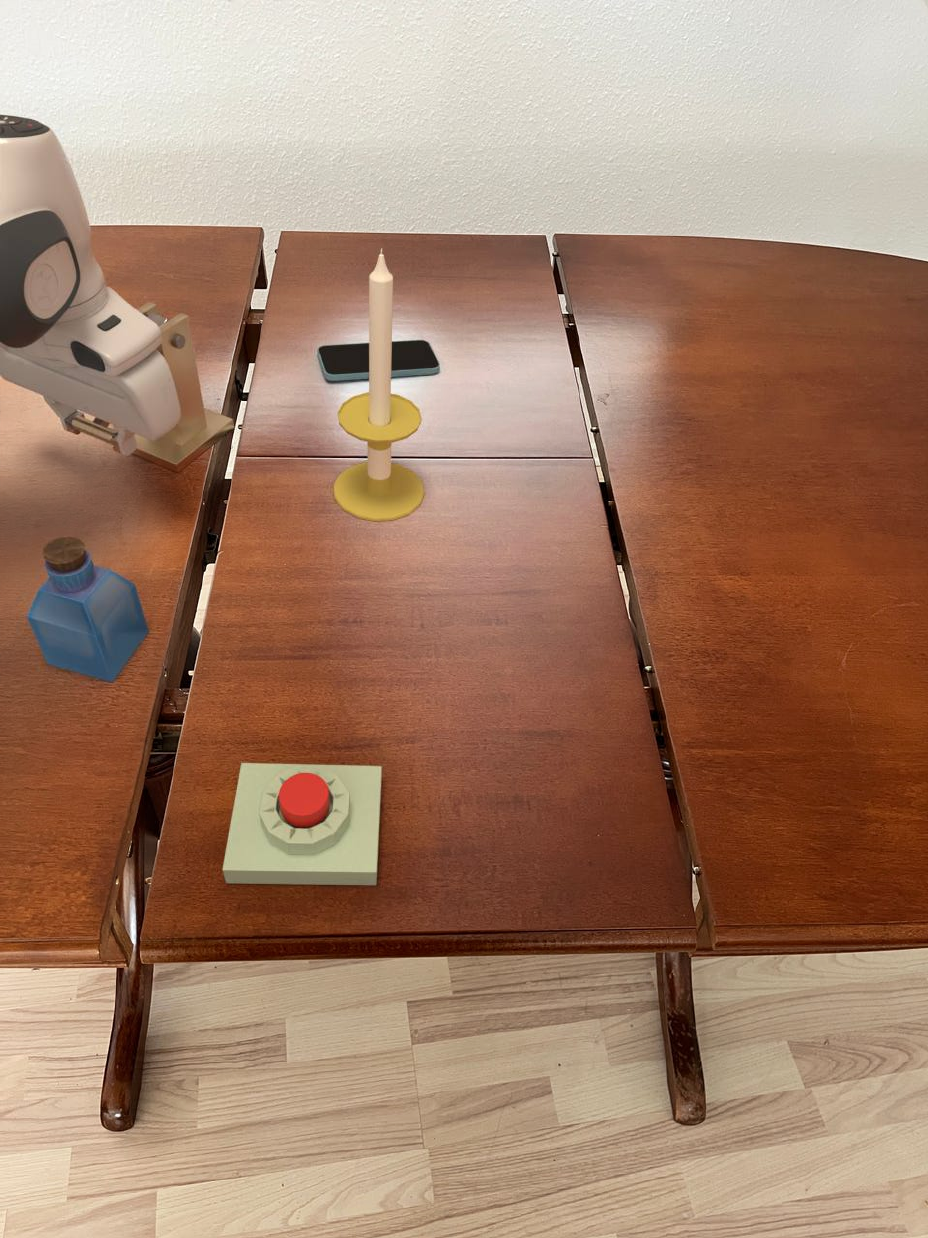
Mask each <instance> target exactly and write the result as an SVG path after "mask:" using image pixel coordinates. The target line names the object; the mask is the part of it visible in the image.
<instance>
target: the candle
mask: <svg viewBox="0 0 928 1238" xmlns="http://www.w3.org/2000/svg"><path fill="white" fill-rule="evenodd" d="M385 259H386V258H385V255H384V254H383V248H382V247H381V248H380V254H378V258H377V262H376V265H375V268H374V270H373V271H372V272H371V273H370V274H369V275H368V276H369V277H368V343H369V378H368V391H367V392H363V393H360V394H357V395H353V396H351V397H350V398H348V399H347V400H345V401H344V402H342V404H341V405H340V407H339V408H338V411H337V418H338V425H339V426H340V427H341V428H342V429H343V430H344V432H345V433H346V434H347V435H349V436H350V437H353V438H355V439H357V440H359V441H363V442H367V444H366V445H367V449H366V450H367V461H364V462H361V463H358V464H354V465H352V466H349V467H348V468H346V469H345V470H343V471H342V472H341V473H339V474H338V476H337V478H336V479H335V482H334V484H333V487H332V488H333V496H334V500H335V502H336V503H337V504H338V506H339V507H340V508H341V509H342V511H344V512H346V513H348V514H350V515H351V516H354V517H355V518H357V519H361V520H365V521H366V520H367V521H372V522H387V521H388V522H389V521H395V520H399V519H402V518H404V517H407V516H409V515H411V514H412V513H413V512H414V511H416V510H417V509H418V508H419V507H420V506H421V505H422V502H423V500H424V498H425V495H426V494H425V488H424V485H423V481H422V480H421V479H420V478H419V476H418V475H417V474H416V473H415V472H414V471H413V470H411V469H409V468H408V467H406V466H403V465H401V464H399V463H395V462H392V444H393V443H397V442H400V441H402V440H406V439H408V438H409V437H411V436H412V435H414V434H415V433H417V431H419V428H420V425H421V423H422V420H423V419H422V415H421V411H420V408H419V407H418V406H417V405H416V404H415V403H414V402H413V401H412V400H411V399H409V398H405V397H404V396H402V395H399V394H396V393H392V377H391V356H392V341H393V305H394V303H393V301H394V299H393V298H394V297H393V296H394V275H393V274H392V273H391V272H390V271H389V269H388V267H387V263H386V260H385Z"/></svg>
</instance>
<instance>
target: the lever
mask: <svg viewBox="0 0 928 1238" xmlns="http://www.w3.org/2000/svg"><path fill="white" fill-rule="evenodd" d="M148 318H149V319H151V320H152V321H153V322H155V323H156V324H157V325H158V327H159V326H161V325H162V324H164V323H165V322H167V321H168V320H169V319H168V318H166V317H164V316H161V315H160V314H159V315H156V314H153V313H150V314H149V316H148ZM110 425H111V423H108V422H106V421H103V420H101V419H99V418H96V417H94V419H93V420H91V419H88V418H86V417H85V418H84V417H81V416H76V417H74V418H73V420H72V427H73V428H74V429H75V430H78V431H80V432H81V433H82V434H84V435H86V436H89V437H92V438H95V439H96V440H99V441H101V442H104V443H106V444H109V445H111V446H113V445H112V443H111V440H110V439H111V438H112V437H113V436H115V435H117V434H118V432H119V430H118V431H117V430H115V429H114V428H113V429H112V428H110V427H109V426H110Z"/></svg>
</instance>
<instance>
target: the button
mask: <svg viewBox="0 0 928 1238" xmlns="http://www.w3.org/2000/svg"><path fill="white" fill-rule="evenodd" d="M279 803H280V809H281V813H282V816H283V817H284V819H285V820H286V821H287V822H288V823H290V824H292V825H294V826H297V827H309V826H313V825H315V824H317V823H319V822H320V821H321V820H322V819H323V818H324V817H325V816H326V815H327V813H328V810H329V806H330V801H329V789H328V786H327V784H326V782H325V781H324V780H323V779H322V778H321V777H319V776H318V775H315V774H312V773H299V774H296V775H293V776H291V777H290V778H288V779H287V780H286V781H285V782H284V783H283V785H282V786H281V788H280V791H279Z"/></svg>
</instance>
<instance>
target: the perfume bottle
mask: <svg viewBox="0 0 928 1238" xmlns="http://www.w3.org/2000/svg"><path fill="white" fill-rule="evenodd" d="M41 555H42V557H43V559H44V560H45V561H44V567H45V569H46V572H47V575H48V578H47V579H46V580H45V581H44V583H42V584H41V586H40V587H39V588H38V590H37V592H36V594H35V597H34V598H33V601H32V604H31V606H30V608H29V611H28V613H27V614H26V618H27V621H28V623H29V625H30V628H31V630H32V632H33V635H34V636H35V639H36V641H37V643H38V646H39V648H40V650H41V652H42V655H43V657H44V659H45V662H46V664H47V665H48V666H52V667H55V668H59V669H62V670H67V671H70V672H74V673H76V674H79V675H84V676H87V677H90V678H95V679H98V680H102V681H105V682H109V683H114V682H115V680H116V679H117V677H118V676H119V674H120V673H121V672H122V670H123V669H124V668H125V666H126V664H127V663H128V662H129V660H130V659H131V658H132V656H133V655H134V654H135V652H136V651H137V649H138V648H139V646H141V643H142V642H143V641H144V639H145V638H146V637H147V635H148V634H149V632H150V631H149V628H148V623H147V620H146V618H145V613H144V611H143V606H142V603H141V599H140V596H139V593H138V590H137V586H136V584H135V583H134V582H132V581H130V580H129V579H127V578H125V577H124V576H122V575H120V574H119V573H117V572H115V571H114V570H112V569H110V568H108V567H103V566H100V565H96V564H94V563H93V559H92V557H91V554H90V552H89V551H88V550H87V549H86V545H85V541H83V540H82V539H81V538H79V537H76V536H72V535H66V536H60V537H59V536H58V537H56V538H53V539H52V540H50V541H48V542H47V543H46V544H45V545H44V547H43V548H42V554H41Z"/></svg>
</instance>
